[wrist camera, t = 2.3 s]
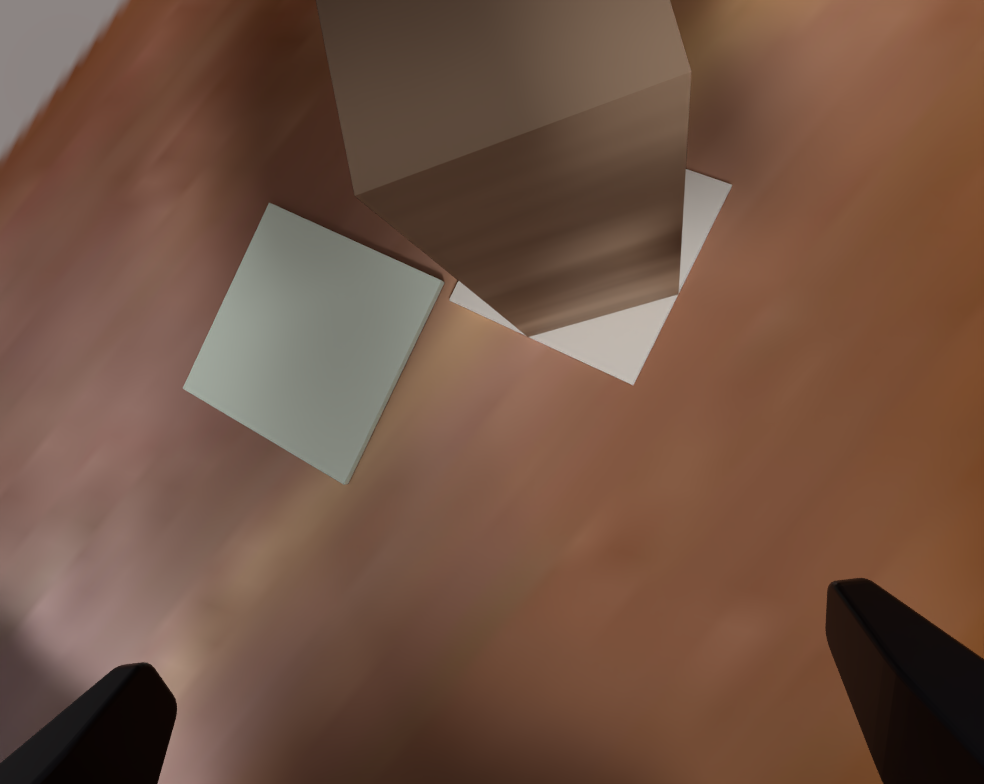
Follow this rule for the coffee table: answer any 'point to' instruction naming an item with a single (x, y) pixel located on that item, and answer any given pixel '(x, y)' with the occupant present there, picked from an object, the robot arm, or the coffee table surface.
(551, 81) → the walnut block
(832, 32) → the coffee table surface
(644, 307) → the tile
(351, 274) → the pad
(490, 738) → the coffee table surface
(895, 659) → the robot arm
